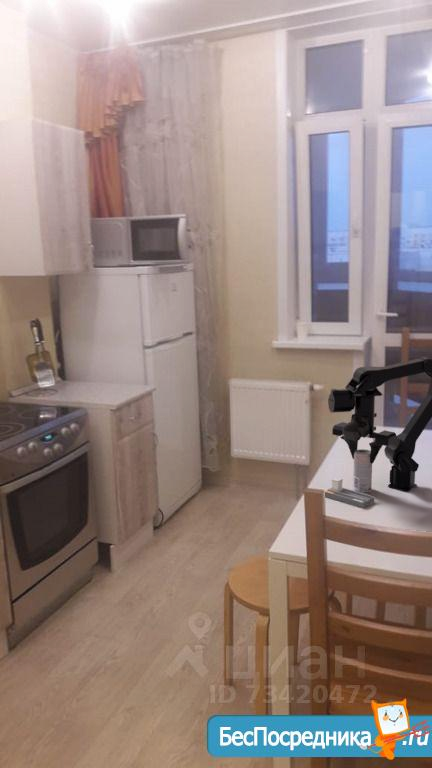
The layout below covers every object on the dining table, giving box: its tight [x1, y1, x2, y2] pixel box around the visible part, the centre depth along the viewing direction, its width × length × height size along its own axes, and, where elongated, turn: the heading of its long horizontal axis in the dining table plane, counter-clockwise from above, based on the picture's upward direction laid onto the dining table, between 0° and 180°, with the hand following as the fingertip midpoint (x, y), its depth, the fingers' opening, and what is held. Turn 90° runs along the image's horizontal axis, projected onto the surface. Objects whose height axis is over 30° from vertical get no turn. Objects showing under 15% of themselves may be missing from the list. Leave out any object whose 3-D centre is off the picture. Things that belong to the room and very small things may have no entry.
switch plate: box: [324, 486, 375, 509], centre depth 177 cm, size 13×6×2 cm, turn 46°
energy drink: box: [352, 448, 373, 494], centre depth 183 cm, size 5×5×12 cm
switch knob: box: [331, 477, 344, 492], centre depth 179 cm, size 2×2×4 cm
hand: (363, 461), depth 182 cm, fingers open, 6 cm apart
